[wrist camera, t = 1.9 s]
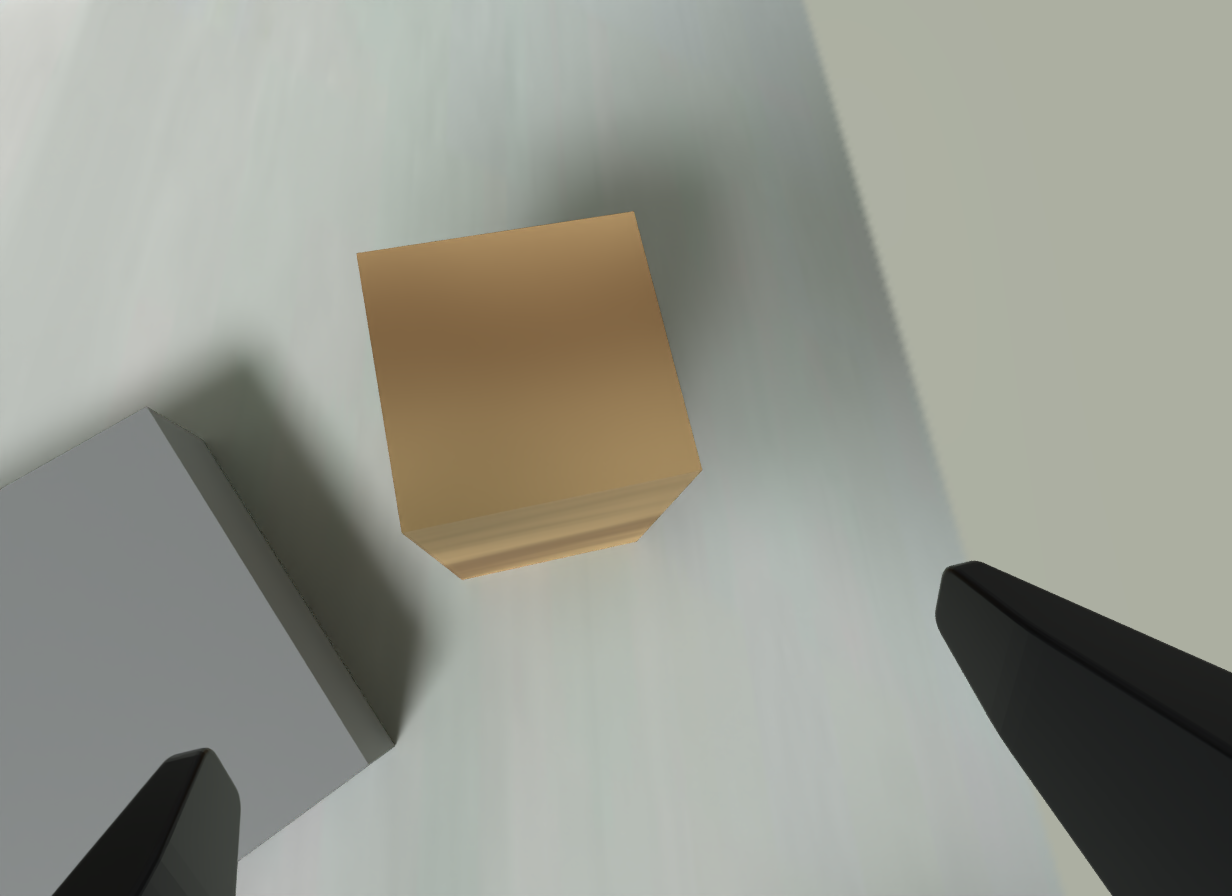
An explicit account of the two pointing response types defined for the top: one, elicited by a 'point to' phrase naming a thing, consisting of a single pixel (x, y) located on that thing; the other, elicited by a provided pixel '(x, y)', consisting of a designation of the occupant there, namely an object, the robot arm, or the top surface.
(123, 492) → the gray plinth
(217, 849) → the robot arm
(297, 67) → the top surface
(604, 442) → the caramel block
